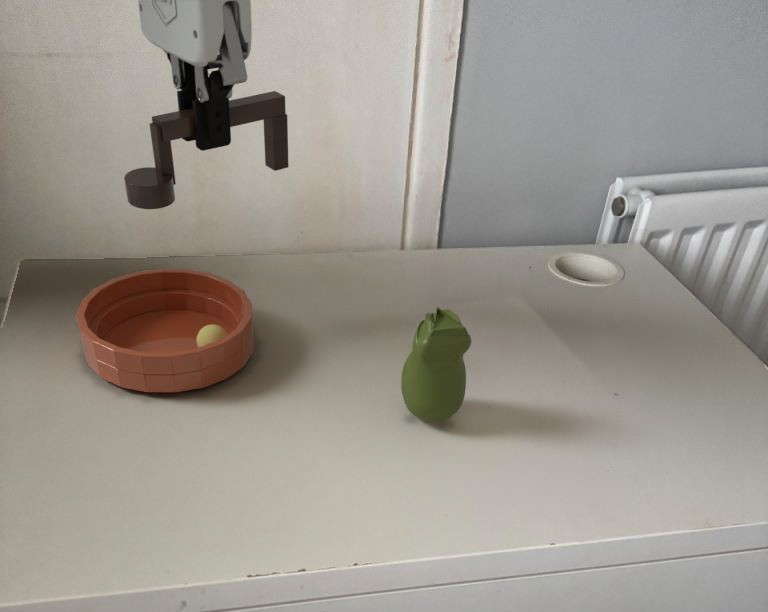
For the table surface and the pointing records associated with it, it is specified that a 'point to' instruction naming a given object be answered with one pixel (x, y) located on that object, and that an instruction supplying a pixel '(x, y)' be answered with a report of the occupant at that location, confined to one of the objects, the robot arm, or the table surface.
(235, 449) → the table surface
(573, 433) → the table surface
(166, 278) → the bowl
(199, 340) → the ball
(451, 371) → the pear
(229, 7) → the robot arm
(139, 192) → the ladle
